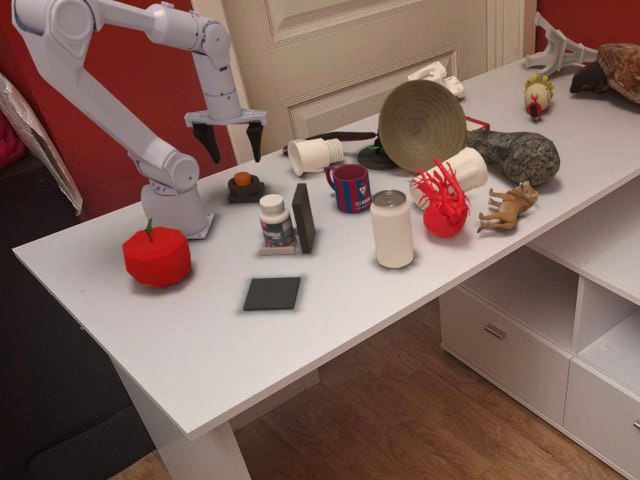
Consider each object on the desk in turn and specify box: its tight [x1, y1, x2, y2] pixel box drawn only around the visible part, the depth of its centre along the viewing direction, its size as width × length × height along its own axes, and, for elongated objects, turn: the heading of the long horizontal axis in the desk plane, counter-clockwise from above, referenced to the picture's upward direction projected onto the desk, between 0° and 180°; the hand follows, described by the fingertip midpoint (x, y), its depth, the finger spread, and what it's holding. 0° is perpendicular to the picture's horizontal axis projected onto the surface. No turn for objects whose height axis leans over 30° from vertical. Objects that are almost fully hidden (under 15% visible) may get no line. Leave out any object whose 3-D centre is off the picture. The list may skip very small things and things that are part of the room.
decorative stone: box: [466, 129, 561, 187], centre depth 140 cm, size 22×10×10 cm
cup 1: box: [324, 163, 372, 214], centre depth 134 cm, size 7×10×7 cm
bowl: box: [377, 78, 467, 174], centre depth 145 cm, size 18×18×8 cm
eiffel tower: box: [524, 11, 599, 81], centre depth 182 cm, size 13×13×30 cm
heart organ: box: [408, 158, 471, 239], centre depth 124 cm, size 10×12×12 cm
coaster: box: [242, 276, 301, 312], centre depth 115 cm, size 8×8×1 cm
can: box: [370, 188, 415, 270], centre depth 118 cm, size 6×6×12 cm
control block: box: [226, 173, 266, 204], centre depth 137 cm, size 6×6×3 cm
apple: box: [121, 217, 192, 289], centre depth 115 cm, size 11×11×10 cm
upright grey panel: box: [259, 182, 316, 256], centre depth 122 cm, size 9×7×10 cm
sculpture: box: [568, 42, 640, 104], centre depth 165 cm, size 16×17×25 cm
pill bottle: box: [258, 193, 297, 248], centre depth 123 cm, size 5×5×9 cm
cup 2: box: [408, 147, 489, 211], centre depth 134 cm, size 8×8×14 cm
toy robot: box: [356, 130, 401, 171], centre depth 145 cm, size 12×12×12 cm
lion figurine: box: [476, 181, 539, 234], centre depth 129 cm, size 15×5×9 cm
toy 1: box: [282, 131, 377, 156], centre depth 148 cm, size 2×22×5 cm
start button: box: [233, 171, 252, 186], centre depth 136 cm, size 3×3×2 cm
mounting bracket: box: [407, 60, 466, 99], centre depth 171 cm, size 12×6×11 cm
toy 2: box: [523, 74, 555, 121], centre depth 163 cm, size 7×7×15 cm
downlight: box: [287, 138, 345, 177], centre depth 144 cm, size 8×7×10 cm
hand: (238, 160), depth 133 cm, fingers open, 7 cm apart
